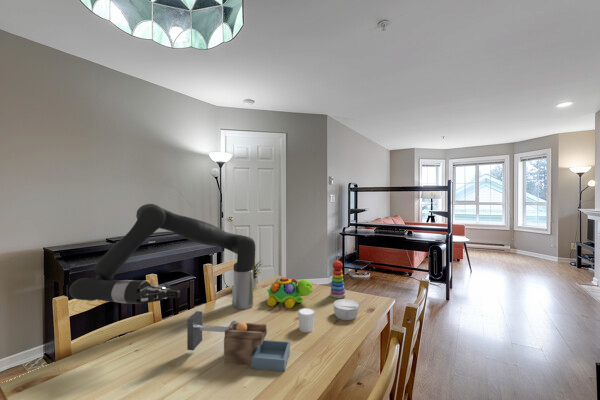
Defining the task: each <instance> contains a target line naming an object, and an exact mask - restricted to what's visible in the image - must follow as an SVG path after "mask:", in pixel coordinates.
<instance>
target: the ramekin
mask: <svg viewBox="0 0 600 400" xmlns="http://www.w3.org/2000/svg"><path fill="white" fill-rule="evenodd" d="M332 306H333V310H334V312H333V313H334V315H335V317H336V318H337V319H340V320H342V321H343V320H344V321H352V320H355V319H356V318H357V316H358V313H359V312H358V311H359V308H360V305H359V303H358V302H356V301H355V300H352V299H345V298H339V299H337V300H335V301H333V304H332Z"/></svg>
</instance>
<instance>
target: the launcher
mask: <svg viewBox="0 0 600 400" xmlns="http://www.w3.org/2000/svg"><path fill="white" fill-rule="evenodd" d="M231 323H232V321H231V322H230V324H231ZM238 323H239V322H237V321H236V326H237V324H238ZM245 323H246V325H247V330H246V331H240V330H225V332H224V338H223V364H231V365H242V366H243V365H245V366H252V356H253V354H254V352H255V350H256V348H257V346H258V345H262V343H263V341H264V340H266V339H265V338H266V337H267V333H268V329H267V323H253V322H251V323H250V322H245Z"/></svg>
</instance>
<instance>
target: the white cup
mask: <svg viewBox="0 0 600 400" xmlns="http://www.w3.org/2000/svg"><path fill="white" fill-rule="evenodd" d="M315 314H316V310H315V309H313V308H310V307H303V308H299V309H298V310H297V315H298V318H297V319H298V329H299V330H300V332H302V333H311V332H313V331H314V328H315V327H314V326H315V318H316V315H315Z"/></svg>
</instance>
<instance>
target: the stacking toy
mask: <svg viewBox="0 0 600 400" xmlns="http://www.w3.org/2000/svg"><path fill="white" fill-rule="evenodd" d="M332 267H333V270H332V278H331V285H330V292H329V296H330V297H331V298H334V299H344V298H345V296H346V289H345V282H344V274H343V270H342V269H343V263H342V261H340V260H335V261H334V262H332Z"/></svg>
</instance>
